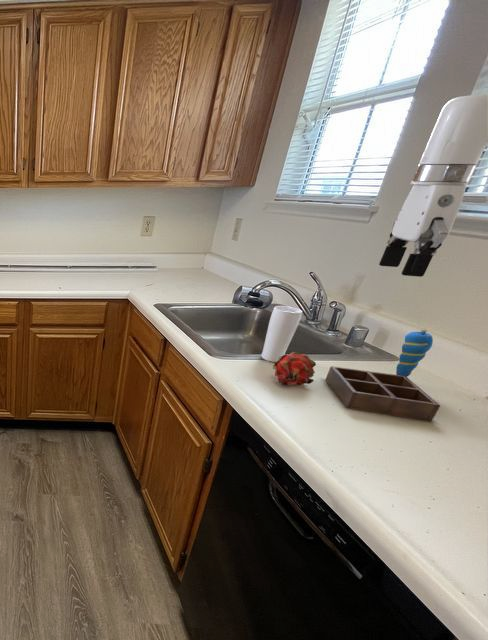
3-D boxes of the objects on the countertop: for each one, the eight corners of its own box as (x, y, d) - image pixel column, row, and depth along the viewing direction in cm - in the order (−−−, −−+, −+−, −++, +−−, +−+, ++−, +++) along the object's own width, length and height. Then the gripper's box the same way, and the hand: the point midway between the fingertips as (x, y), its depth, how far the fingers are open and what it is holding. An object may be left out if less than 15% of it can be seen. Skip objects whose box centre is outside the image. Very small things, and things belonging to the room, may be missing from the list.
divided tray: (398, 390, 104) (405, 376, 102) (431, 421, 91) (440, 405, 89) (324, 380, 109) (330, 365, 107) (346, 407, 96) (353, 392, 94)
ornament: (383, 381, 108) (410, 326, 102) (386, 375, 112) (412, 322, 105) (410, 388, 105) (439, 332, 98) (412, 382, 108) (440, 327, 102)
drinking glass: (254, 353, 124) (269, 304, 118) (279, 355, 123) (296, 306, 116) (262, 362, 118) (279, 311, 112) (289, 365, 117) (307, 313, 110)
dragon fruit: (293, 380, 112) (285, 402, 104) (269, 357, 113) (259, 377, 106) (325, 363, 105) (319, 385, 98) (299, 339, 106) (291, 359, 99)
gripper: (501, 177, 67) (448, 282, 75) (441, 176, 82) (401, 264, 90) (442, 176, 70) (396, 278, 77) (394, 175, 84) (359, 261, 92)
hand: (399, 270), depth 83 cm, fingers open, 9 cm apart
